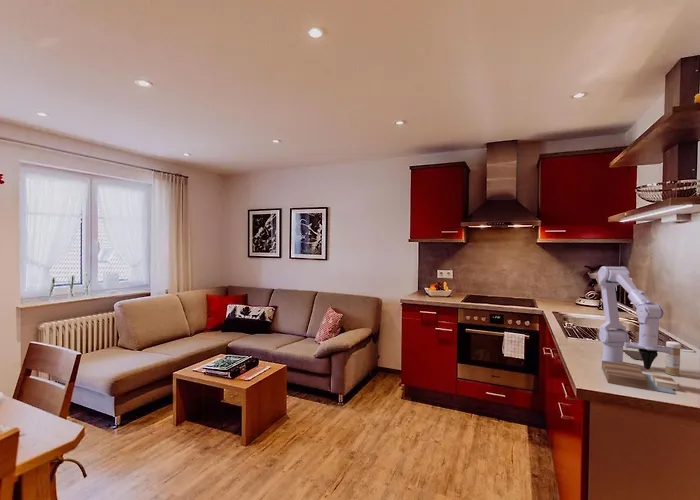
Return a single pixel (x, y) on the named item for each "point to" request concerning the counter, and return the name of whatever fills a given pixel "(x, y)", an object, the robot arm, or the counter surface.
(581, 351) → the counter surface
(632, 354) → the smartphone
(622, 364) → the deck
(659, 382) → the cream block
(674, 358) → the sprinkles bottle
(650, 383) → the mat
